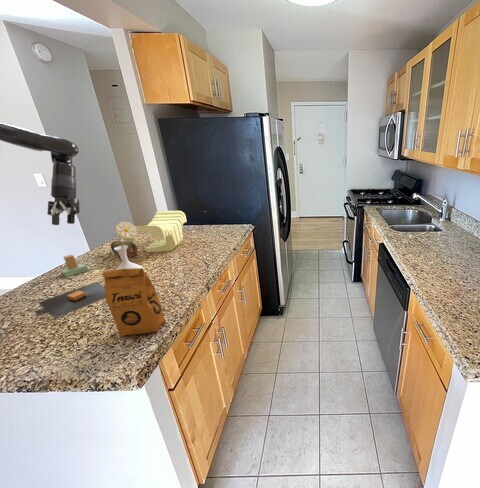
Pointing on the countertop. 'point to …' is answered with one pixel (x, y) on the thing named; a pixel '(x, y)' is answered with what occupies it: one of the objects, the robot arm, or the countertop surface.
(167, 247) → the slatted curved stool
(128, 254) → the multicolored arch
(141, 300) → the coffee package
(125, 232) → the flower in vase
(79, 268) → the scrub brush
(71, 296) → the orange flat rounded piece
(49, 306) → the griddle pan
